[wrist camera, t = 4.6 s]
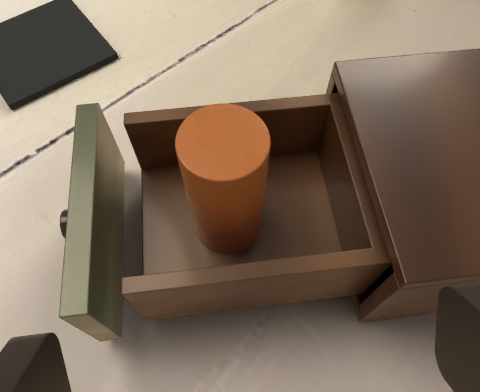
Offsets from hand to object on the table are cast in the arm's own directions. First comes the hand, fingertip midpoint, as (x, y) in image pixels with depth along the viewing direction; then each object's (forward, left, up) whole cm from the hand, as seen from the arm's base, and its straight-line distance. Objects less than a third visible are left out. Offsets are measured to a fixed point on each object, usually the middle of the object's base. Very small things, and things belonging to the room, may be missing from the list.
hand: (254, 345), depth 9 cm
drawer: (+4, +8, -14) cm, 17 cm away
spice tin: (+5, +8, -13) cm, 16 cm away
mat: (+2, +30, -15) cm, 34 cm away
